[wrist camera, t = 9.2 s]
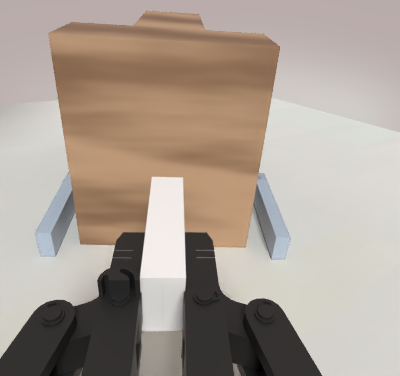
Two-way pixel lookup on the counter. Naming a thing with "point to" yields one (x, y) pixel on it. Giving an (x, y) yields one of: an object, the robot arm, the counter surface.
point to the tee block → (163, 121)
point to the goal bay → (64, 210)
